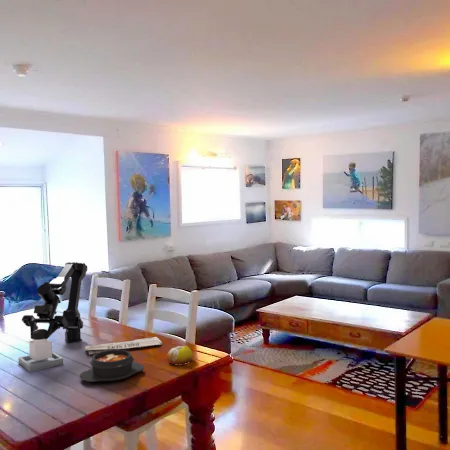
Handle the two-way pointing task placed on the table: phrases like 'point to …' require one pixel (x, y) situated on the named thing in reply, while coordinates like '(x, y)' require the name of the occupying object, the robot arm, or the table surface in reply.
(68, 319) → the robot arm
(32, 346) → the medicine bottle
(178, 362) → the fruit
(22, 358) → the tray
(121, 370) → the casserole
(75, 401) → the table surface
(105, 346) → the newspaper
